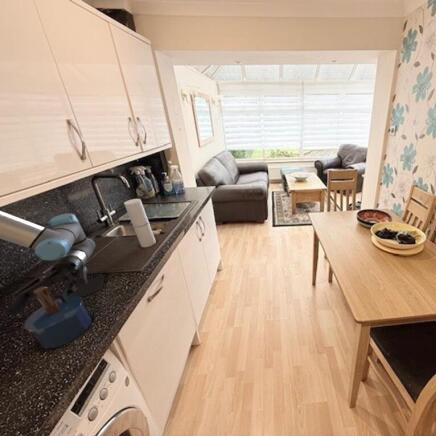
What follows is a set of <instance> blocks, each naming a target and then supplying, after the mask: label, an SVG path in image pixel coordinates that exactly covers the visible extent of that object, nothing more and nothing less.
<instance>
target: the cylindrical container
mask: <svg viewBox="0 0 436 436" xmlns="http://www.w3.org/2000/svg"><path fill="white" fill-rule="evenodd" d="M123 204H124V208H125V209H126V212H127V215H128V217H129V220H130V222H131V226H132V227H133V230H134V233H135V235H136V237H137V240H138V242H139V245H140V247H141V248H149V247H151V246H153V245H155V244H157V243H156V242H157V241H156V238H155V235H154V232H153V229H152V227H151V225H150V221H149V219H148V217H147V216H148V215H147V214H146V210H145V208H144V205H143V202H142V199H141V198H133V199H128V200H126V201H124V203H123Z"/></svg>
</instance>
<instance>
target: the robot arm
mask: <svg viewBox="0 0 436 436" xmlns="http://www.w3.org/2000/svg"><path fill="white" fill-rule="evenodd" d="M49 224H50V227H51V228H52V229H51V228H47V227H44V226H41V225H39V224H36V223H34V222H31V221H29V220H26V219H23V218H20V217H18V216H15V215H13V214H10V213H7V212H5V211H3V210H0V240H3V241H6V242H9V243H13V244H15V245H17V246H21V247H25V248H27V249H31V250H33V251H34V253H35V255H36V256H37V257H38V258H39V259H40V260H44V261H49V262H52V261H53V262H54V261H55V263H53V265H52V267H51V271H50V272H49V273H47V274H46V275H43V276H42V275H41V274H38V275H36V276H35V277H34V278H33V279H32V280H31V281H29V282H27V283H26V284H24V285H23V286H21V288H19V289H18V290H16V291H15V292H13V293H12V294H10V296H11V297H12V299H13V301H12V302H11V305H9V306H8V308H7V310H6V311H7V312H8V313H9V314H10V315H11V317H16V316H17V315H18V314H19V313H20V311H21V310H22V309H24V307H25V306H26V304H27V303H28V302H29V301H30V298H32V297H33V296H35V294H34V293H33V291H34V290H36V289H37V288H40V287H43V286H45V287H46V288H49V287H52V286H54V285H55V284H57V283H61V282H65V281H68V283H66V285H65V287H64V288H63V289H62V291H61V293H59V295H58V297H59V299H61V300H62V302H63V303H66V302H67V300H68V299H69V297H70V296H71V294H72V293H74V292H75V291H76V289H77V288H78V287H79V286H80V285H82V284H83V285H85V284H87V280H88V277H87V273H88V271H89V269H88V268H87V266H86V263H87V261H88V260H89V259H90V257H91V256H92V255H93V254H94V252H95V249H96V242H95V241H94V240H93V239H91V238H89V237H87V236H86V233H85V232H84V229H83V227H82V225H81V223H80V221H79V220H78V218H77V217H76V215H75V214H73V213H63V214H59V215H55V216H53V217H51V218H50V219H49ZM77 276H78V277H79V279H77V278H76V277H77Z"/></svg>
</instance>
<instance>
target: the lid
mask: <svg viewBox="0 0 436 436" xmlns="http://www.w3.org/2000/svg"><path fill="white" fill-rule="evenodd" d="M33 293H34V294H35V295H34V296H35V297H36V299H37V300H38V302H39V303H40V304H41V307H39V308H38V309H36V310H35V311H34V312H33V313H31V315H30V316H28V318H27V319H26V320H25V322H24V324H23V325H24V328H25V329H26V331H28V332H31V331H41V330H45V329H48V328H51V327H53V326H55V325H58V324H60V323H61V322H63V321H65V320H66V319H68V318H69V317H71V316H72V315H73V314H75V313H76V312H77V311H78V310H79V308H80V307H81V305H82V304H83V299H82V297H78V296H70V297H69V299H68V300H67V302H66V303H63V302H62V300H61V299H60V298H58V299H55V298H54V297H53V295H52V293H51V292H50V291H49V289H48V287H45V286H43V287H40V288H37V289H36V290H34V291H33Z"/></svg>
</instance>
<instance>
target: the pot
mask: <svg viewBox="0 0 436 436" xmlns="http://www.w3.org/2000/svg"><path fill="white" fill-rule="evenodd" d="M91 323H92V318H91V316H90V314H89V313H88V310H87V309H86V307H85V306H84V304H83V303H82V305H81V307H80V308H79V310H78V311H77V312H76V313H75V314H73V315H72V316H71V317H69V318H68V319H66V320H65V321H63V322H61V323H60V324H58V325H55V326H53V327H51V328H48V329H45V330H41V331H30V333H31V334H32V335H33V337H34V338H35V339H36V340H37V342H38V343H39V344H40V345H41V347H42V348H44V349H53V348H58V347H61V346H64V345H66V344H68V343H70V342H72V341H74V340H75V339H78V337H79V336H81V335H82V334H83V333H84V332H85V331H87V330H88V328H89V326H90V325H91Z"/></svg>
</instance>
